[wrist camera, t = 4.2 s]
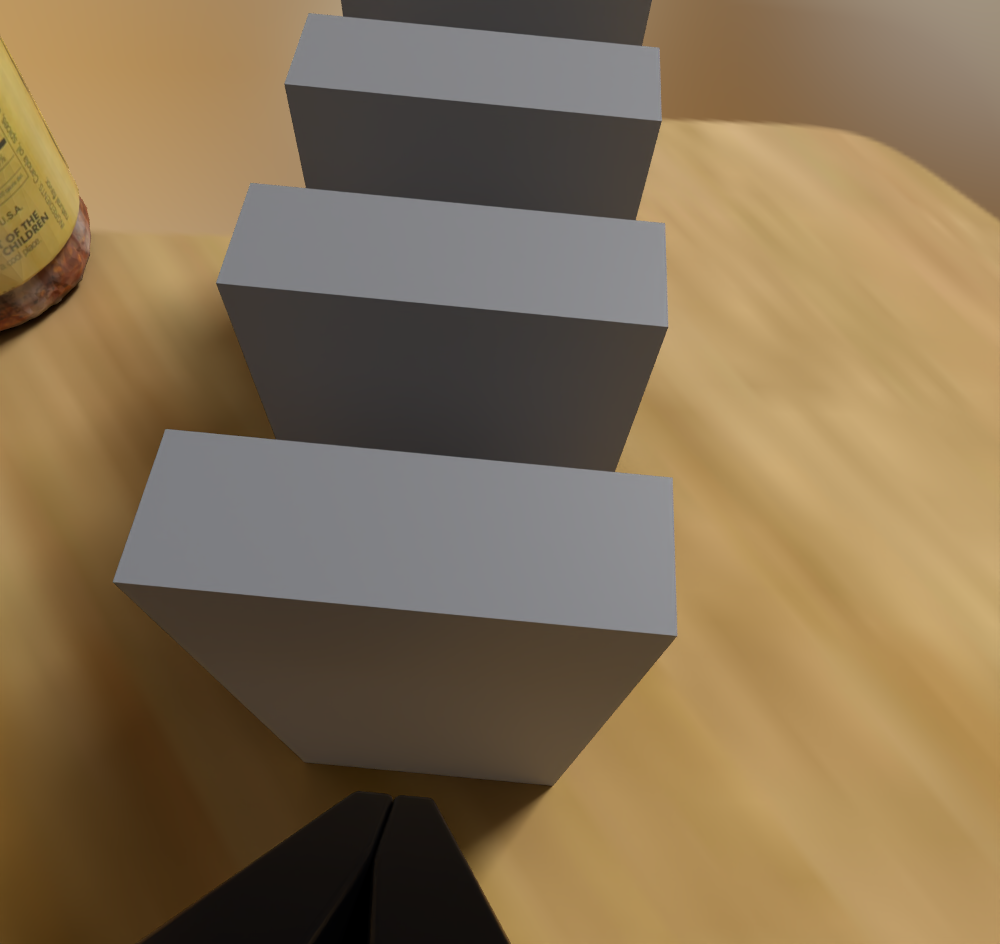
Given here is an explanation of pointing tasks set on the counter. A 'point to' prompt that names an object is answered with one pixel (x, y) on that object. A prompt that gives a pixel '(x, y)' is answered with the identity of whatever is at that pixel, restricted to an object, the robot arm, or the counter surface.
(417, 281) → the domino
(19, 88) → the sauce bottle
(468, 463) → the domino
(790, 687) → the counter surface
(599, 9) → the domino
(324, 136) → the domino
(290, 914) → the robot arm
